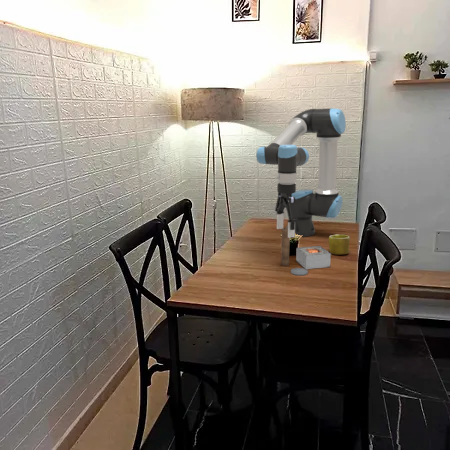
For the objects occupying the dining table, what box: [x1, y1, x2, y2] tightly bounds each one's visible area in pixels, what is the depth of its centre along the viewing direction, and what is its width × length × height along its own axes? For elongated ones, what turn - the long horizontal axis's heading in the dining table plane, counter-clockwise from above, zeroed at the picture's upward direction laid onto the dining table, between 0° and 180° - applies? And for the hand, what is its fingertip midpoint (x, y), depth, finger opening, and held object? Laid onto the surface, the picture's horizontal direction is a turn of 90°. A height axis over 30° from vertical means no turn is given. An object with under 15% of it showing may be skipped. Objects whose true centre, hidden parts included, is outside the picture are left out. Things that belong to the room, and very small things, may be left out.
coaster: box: [290, 267, 309, 277], centre depth 180 cm, size 7×7×1 cm
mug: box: [328, 233, 351, 256], centre depth 203 cm, size 12×10×10 cm
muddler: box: [280, 227, 291, 267], centre depth 187 cm, size 3×3×16 cm
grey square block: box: [295, 245, 332, 270], centre depth 189 cm, size 11×11×6 cm
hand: (285, 232), depth 185 cm, fingers open, 13 cm apart
